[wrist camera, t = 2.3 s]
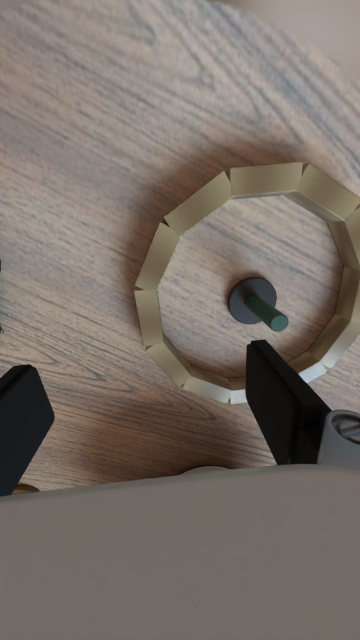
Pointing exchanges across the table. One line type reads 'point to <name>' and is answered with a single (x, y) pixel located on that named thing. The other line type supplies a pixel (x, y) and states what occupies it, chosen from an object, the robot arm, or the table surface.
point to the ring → (249, 182)
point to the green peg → (256, 304)
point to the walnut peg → (24, 490)
